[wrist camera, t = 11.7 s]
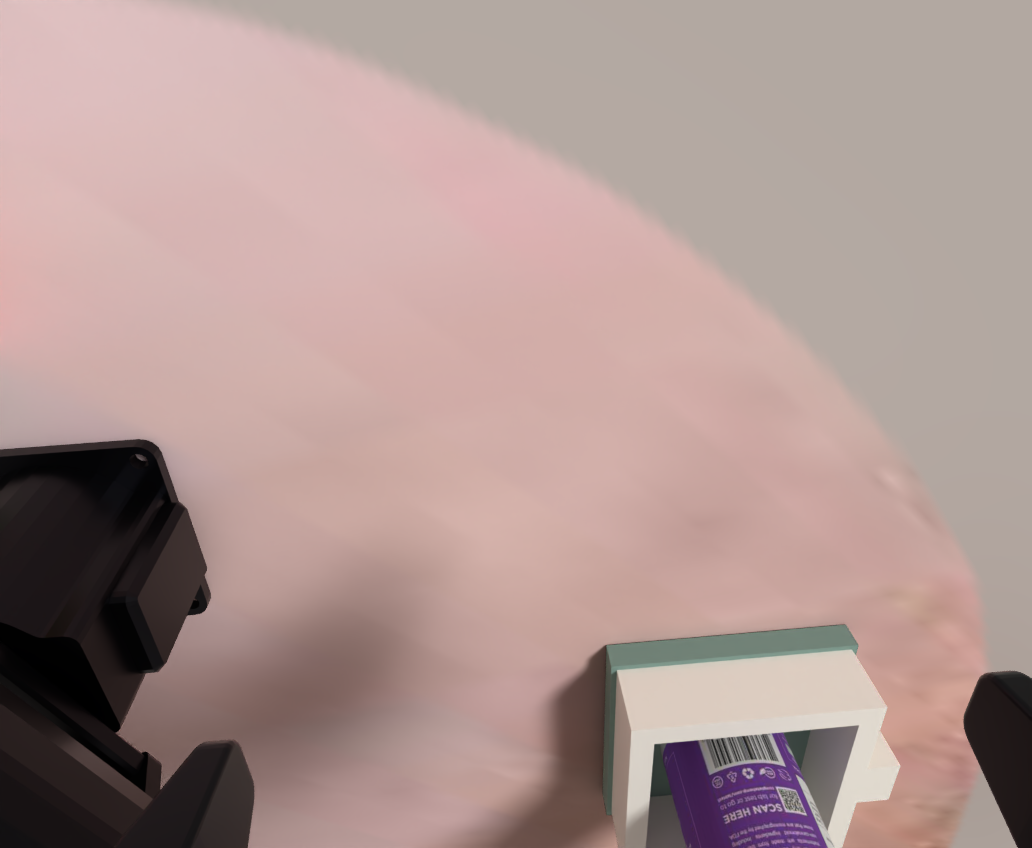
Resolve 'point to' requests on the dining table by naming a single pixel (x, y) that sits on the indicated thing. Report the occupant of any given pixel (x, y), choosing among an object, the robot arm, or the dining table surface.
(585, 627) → the dining table surface
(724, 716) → the board
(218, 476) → the dining table surface
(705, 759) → the container
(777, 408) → the dining table surface
